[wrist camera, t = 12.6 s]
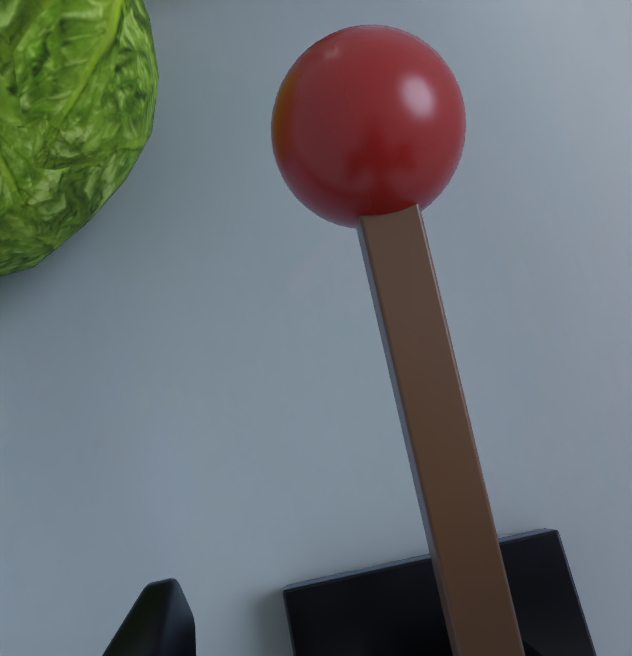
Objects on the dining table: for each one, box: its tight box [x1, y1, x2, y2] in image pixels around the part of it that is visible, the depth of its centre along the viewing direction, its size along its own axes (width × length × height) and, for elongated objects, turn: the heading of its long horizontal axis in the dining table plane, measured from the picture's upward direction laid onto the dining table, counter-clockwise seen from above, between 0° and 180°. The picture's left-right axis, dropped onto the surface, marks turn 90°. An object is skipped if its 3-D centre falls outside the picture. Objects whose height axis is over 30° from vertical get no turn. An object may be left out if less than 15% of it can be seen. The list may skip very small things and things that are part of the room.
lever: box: [271, 25, 525, 656], centre depth 11 cm, size 17×4×4 cm, turn 12°
